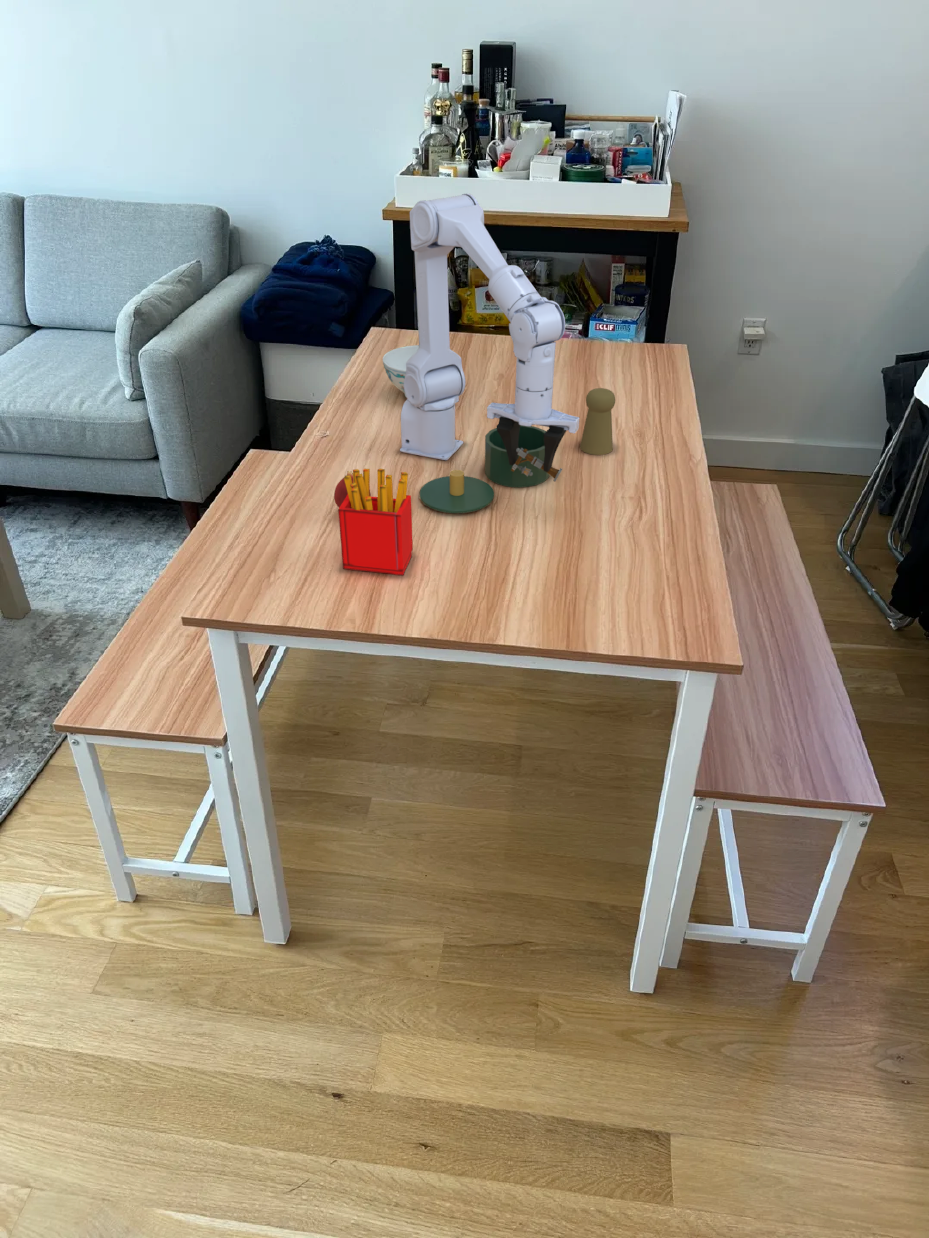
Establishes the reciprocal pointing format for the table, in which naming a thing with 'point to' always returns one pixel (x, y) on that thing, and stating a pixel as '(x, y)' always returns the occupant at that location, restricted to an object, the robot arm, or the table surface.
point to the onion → (342, 490)
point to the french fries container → (376, 524)
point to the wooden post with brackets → (533, 460)
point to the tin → (499, 462)
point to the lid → (456, 493)
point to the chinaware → (398, 364)
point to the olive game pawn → (598, 422)
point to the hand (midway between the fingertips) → (530, 465)
